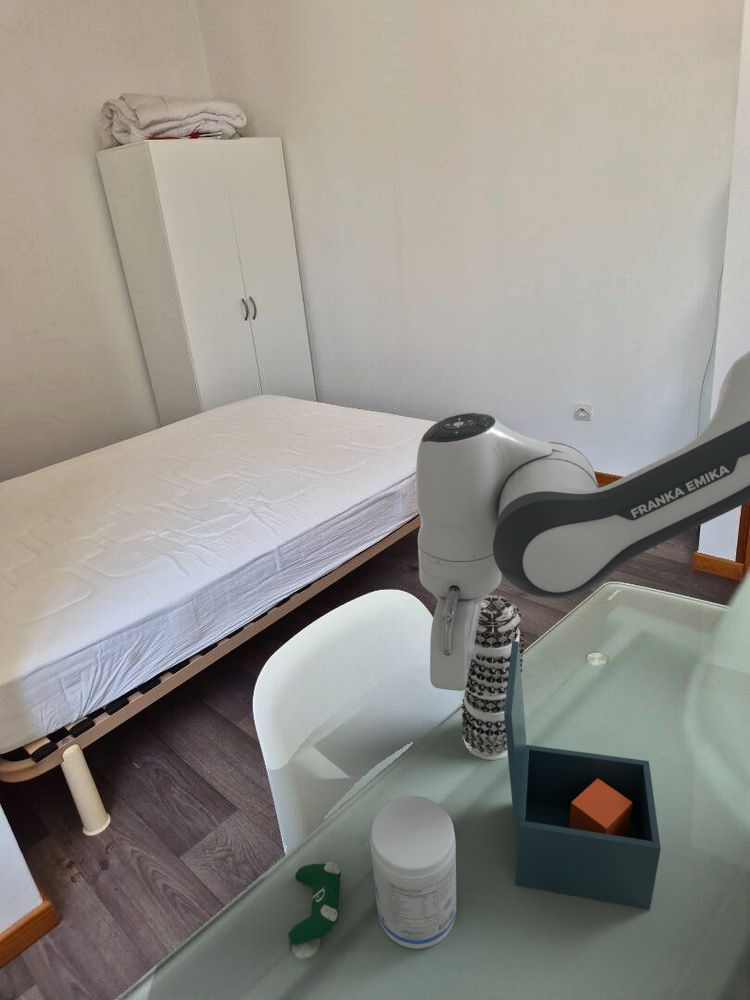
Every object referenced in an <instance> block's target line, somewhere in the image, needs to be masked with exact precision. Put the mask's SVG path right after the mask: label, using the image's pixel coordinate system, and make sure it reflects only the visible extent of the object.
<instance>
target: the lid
mask: <svg viewBox="0 0 750 1000" xmlns="http://www.w3.org/2000/svg"><path fill="white" fill-rule="evenodd" d="M521 668H522V667H521V666H520V653H519V642H518V641H512V646H511V655H510V664H509V673H508V683H507V692H506V701H505V710H504V719H505V730H506V741H507V752H508V756H507V761H508V771H509V772H508V773H509V783H510V793H511V804H512V813H513V814H512V815H513V816H512V817H513V822H514V823H517V824H518V823H521V815H522V800H523V784H524V769H525V754H526V745H527V733H526V719H525V718H526V717H525V707H524V694H523V692H524V691H523V682H522V679H523V678H522V673H521Z"/></svg>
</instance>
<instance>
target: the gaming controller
mask: <svg viewBox="0 0 750 1000" xmlns="http://www.w3.org/2000/svg"><path fill="white" fill-rule="evenodd" d="M341 874H342V872H341V867H340V866H339V864H337V863H335V862H334V861H333V862H332V861H326V862H324V863H312V864H306V865H304V866H301V867H299V868H298V870H297V871H296V872H295V875H294V878H295V880H296V881H297V882H298V881H299V882H301V883H303V884H302V885H304V884H307V885H306V886H309V885H310V887H313V891H312V901H311V909H310V911H311V912H310V916H308V917H307V918H305V919H303V920H302V921H300V922H299V923H297V924H296V925H294V927H292V928H291V930H290V931H289V932H288V934H287V936H288V939H289V942H290V945H299V944H300V945H301V944H305V943H309V942H312V941H314V940H316V939H319V938H321V937H323V936H325V935H326V934H327V933H329V932H332V930H333V929H334V927H335V925H336V924H337V922H338V919H339V912H340V911H339V906H340V893H341V892H340V891H341V877H342V875H341ZM299 882H298V883H299ZM301 883H300V884H301Z"/></svg>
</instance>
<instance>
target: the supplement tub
mask: <svg viewBox="0 0 750 1000" xmlns="http://www.w3.org/2000/svg"><path fill="white" fill-rule="evenodd" d="M369 841H370V853H371V861H372V862H371V863H372V871H373V880H374V890H375V901H376V910H377V917H378V920H379V923H380V925H381V927H382V929H383V931H384V932H385V933H386V935H387V936H388V937H389V938H390V939H391V940H392V941H393V942H395V943H397V944H398V945H400V946H402V947H405V948H409V949H414V950H415V949H417V950H418V949H420V950H421V949H427V948H429V947H433V946H435V945H437V944H438V943H440V942H441V941H442V940H444V939H445V938H446V937H447V936H448V934H449V933H450V931H451V930H452V928H453V926H454V925H455V920H456V917H457V856H456V855H457V854H456V853H457V847H456V845H457V844H456V834H455V829H454V824H453V820H452V818H451V817H450V815H449V814H448V811H446V810H445V809H444V808H443V806H442V805H440V804H439V803H437V802H436V801H434V800H432V799H430V798H427V797H423V796H417V795H408V796H407V795H406V796H401V797H398V798H394V799H393V800H391V801H390V802H387V803H386V804H385V805H383V806H382V807H381V808H380V809H379V810H378V812H377V813H376V815H375V816H374V818H373V820H372V824H371V827H370V840H369Z"/></svg>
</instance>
